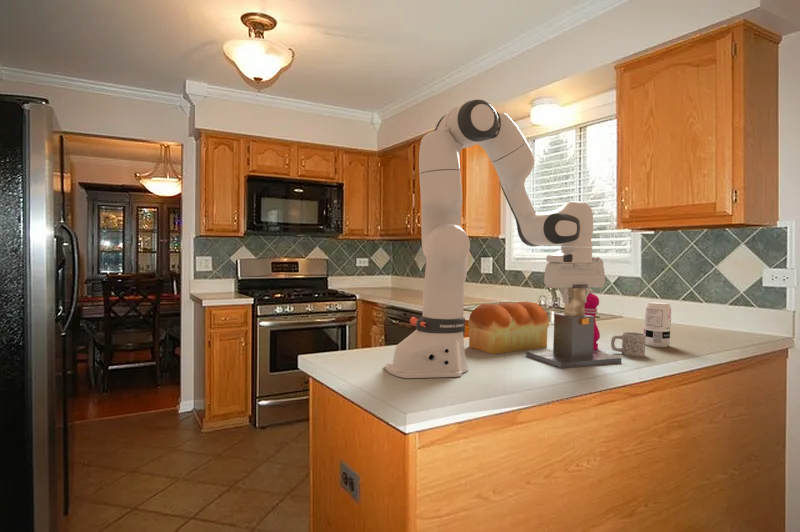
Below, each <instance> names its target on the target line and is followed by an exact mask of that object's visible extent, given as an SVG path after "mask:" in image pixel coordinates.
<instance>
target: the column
mask: <svg viewBox="0 0 800 532" xmlns="http://www.w3.org/2000/svg"><path fill="white" fill-rule="evenodd" d="M585 288H588V285H587V284H580V285H573V287H572V288H568V292H567V294H568V297H571V300H570V301H571V302H570V303H564V311H563V313H564V315H569V316H584V307H585Z"/></svg>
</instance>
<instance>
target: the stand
mask: <svg viewBox="0 0 800 532" xmlns="http://www.w3.org/2000/svg"><path fill="white" fill-rule="evenodd" d="M553 315H554V317H553V318H554V319H553V320H554V321H553V343H552V345H553V347H552V349H540V350H537V349H536V350H528V351H527V350H525V357H528V358H530V359H532V360H536V361H538V362H541V363H544V364H547V365H550V366H553V367H556V368H559V369H570V368H581V367H583V368H584V367H593V366H602V365H604V366H605V365H612V364H613V365H614V364H622V357H619V356H615V355H612V354H608V353H605V352H602V351H597V350H593V341H594V316H590V315H585V314H584V316H569V315H564V312H557V313H556V312H555V313H554V314H553Z"/></svg>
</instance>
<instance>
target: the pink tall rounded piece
mask: <svg viewBox="0 0 800 532" xmlns="http://www.w3.org/2000/svg"><path fill="white" fill-rule="evenodd" d="M593 293H594V292H593V289H592V288H590V292H589V294H588V296H587V299H586V303H585V307H584V314H585V315H590V316H594V341H593V350H595V351H597V350H598V349H599V343H598V341H599V340H600V337H601V335H600V329H599V327H598V325H597V321H596V314H597V313H598V308H597V307H598V306H599V305H600V299H599V297H598V296H597V295H596V294H593Z"/></svg>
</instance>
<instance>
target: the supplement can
mask: <svg viewBox="0 0 800 532" xmlns="http://www.w3.org/2000/svg"><path fill="white" fill-rule="evenodd" d="M643 321H644V322H643V334H645V335H646V339H645V346H649V347H654V348H668V347H669V346H670V344H671V325H672V306H671V304H670V303H669V302H663V301H647V302H646V303H645V306H644V320H643Z"/></svg>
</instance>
